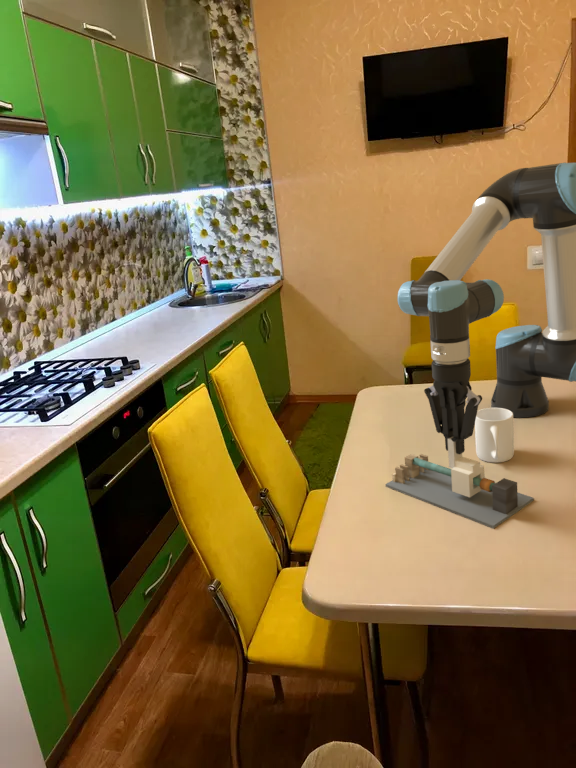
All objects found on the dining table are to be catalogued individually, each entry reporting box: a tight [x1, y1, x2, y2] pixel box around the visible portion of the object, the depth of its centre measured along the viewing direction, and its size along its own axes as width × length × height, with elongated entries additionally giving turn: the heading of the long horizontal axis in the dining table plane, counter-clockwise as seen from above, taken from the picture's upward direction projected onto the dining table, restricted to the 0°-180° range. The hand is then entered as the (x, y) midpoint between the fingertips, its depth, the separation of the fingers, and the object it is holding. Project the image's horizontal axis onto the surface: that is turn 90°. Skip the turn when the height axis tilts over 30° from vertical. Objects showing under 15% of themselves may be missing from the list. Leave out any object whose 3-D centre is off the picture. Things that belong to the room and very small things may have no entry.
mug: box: [474, 407, 515, 464], centre depth 144 cm, size 9×12×11 cm
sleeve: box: [450, 456, 486, 497], centre depth 129 cm, size 5×4×7 cm
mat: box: [385, 469, 535, 530], centre depth 133 cm, size 14×28×1 cm, turn 38°
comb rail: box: [391, 453, 518, 514], centre depth 132 cm, size 10×27×6 cm, turn 38°
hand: (455, 465), depth 131 cm, fingers closed
